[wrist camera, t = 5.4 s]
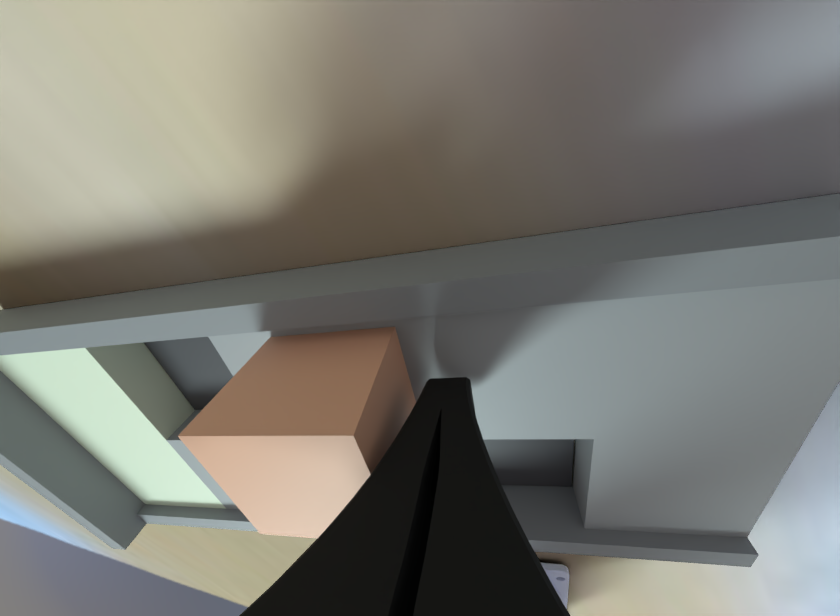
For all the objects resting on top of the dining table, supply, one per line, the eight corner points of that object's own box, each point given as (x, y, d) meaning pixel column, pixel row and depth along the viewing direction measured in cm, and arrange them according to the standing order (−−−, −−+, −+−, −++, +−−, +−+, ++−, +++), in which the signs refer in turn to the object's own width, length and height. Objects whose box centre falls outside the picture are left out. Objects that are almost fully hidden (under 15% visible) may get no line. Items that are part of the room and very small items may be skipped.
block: (422, 424, 12) (402, 544, 9) (316, 425, 13) (260, 534, 10) (395, 326, 10) (353, 435, 6) (270, 337, 11) (177, 435, 7)
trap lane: (709, 500, 15) (779, 613, 11) (168, 481, 22) (112, 548, 18) (842, 193, 8) (1108, 245, 5) (1, 309, 15) (-135, 364, 12)
